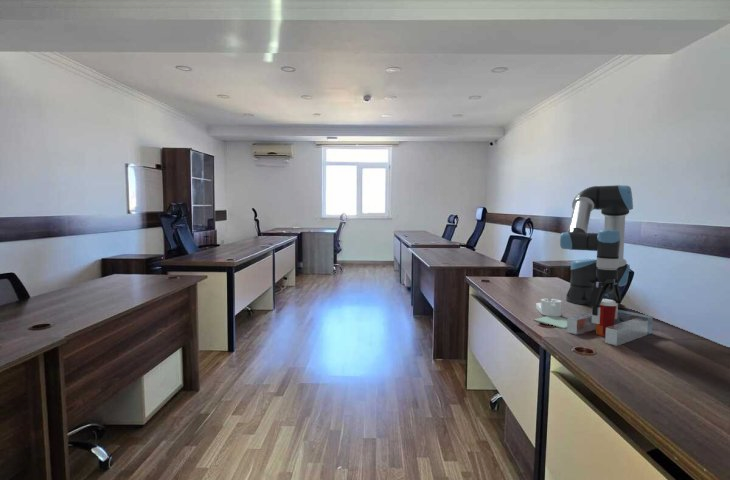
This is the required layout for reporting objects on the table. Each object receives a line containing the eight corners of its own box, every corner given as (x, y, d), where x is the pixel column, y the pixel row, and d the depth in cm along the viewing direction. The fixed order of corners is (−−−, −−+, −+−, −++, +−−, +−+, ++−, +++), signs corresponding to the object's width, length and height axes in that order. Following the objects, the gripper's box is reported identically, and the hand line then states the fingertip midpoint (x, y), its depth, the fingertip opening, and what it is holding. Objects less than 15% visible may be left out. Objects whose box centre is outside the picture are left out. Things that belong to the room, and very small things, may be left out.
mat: (552, 316, 182) (552, 314, 182) (581, 323, 170) (581, 322, 170) (533, 320, 174) (533, 319, 174) (563, 328, 163) (563, 327, 162)
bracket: (563, 316, 178) (563, 302, 178) (542, 315, 180) (543, 301, 180) (553, 307, 197) (553, 294, 197) (535, 306, 199) (535, 294, 199)
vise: (612, 318, 177) (613, 304, 176) (661, 329, 161) (662, 313, 160) (566, 332, 158) (567, 315, 157) (616, 346, 142) (617, 327, 141)
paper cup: (617, 334, 155) (618, 300, 154) (613, 338, 150) (615, 303, 149) (595, 330, 161) (596, 297, 159) (590, 334, 155) (592, 300, 154)
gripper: (613, 264, 163) (610, 314, 164) (580, 269, 150) (578, 323, 151) (632, 267, 156) (630, 318, 158) (600, 272, 143) (597, 328, 145)
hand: (604, 320), depth 155 cm, fingers open, 13 cm apart
